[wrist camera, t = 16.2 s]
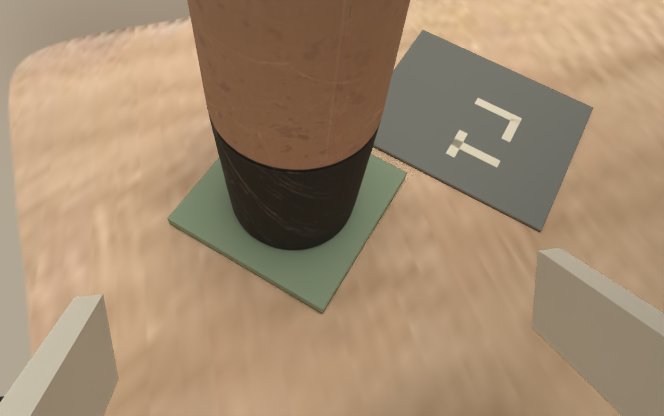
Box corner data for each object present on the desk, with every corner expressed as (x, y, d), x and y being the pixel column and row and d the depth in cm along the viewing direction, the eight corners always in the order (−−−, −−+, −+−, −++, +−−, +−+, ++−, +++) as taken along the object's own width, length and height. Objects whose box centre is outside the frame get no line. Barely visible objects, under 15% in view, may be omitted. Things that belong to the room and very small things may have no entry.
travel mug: (289, 283, 28) (299, -71, 10) (198, 191, 30) (79, -229, 13) (386, 198, 31) (518, -189, 13) (296, 120, 33) (309, -301, 16)
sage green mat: (405, 177, 32) (407, 172, 32) (322, 313, 28) (323, 310, 27) (268, 106, 34) (267, 100, 34) (169, 223, 30) (167, 218, 29)
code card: (591, 109, 36) (593, 107, 36) (540, 231, 31) (541, 230, 31) (422, 31, 39) (422, 29, 38) (349, 134, 34) (349, 132, 34)
